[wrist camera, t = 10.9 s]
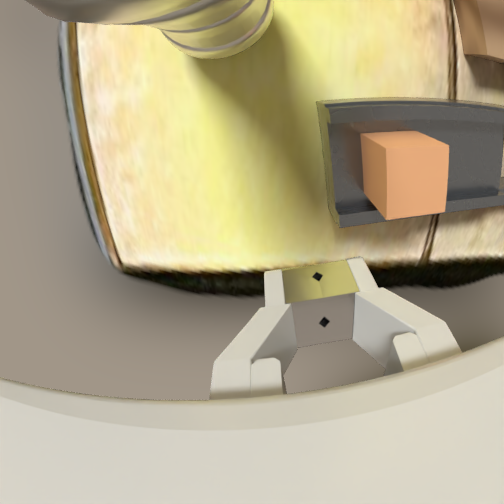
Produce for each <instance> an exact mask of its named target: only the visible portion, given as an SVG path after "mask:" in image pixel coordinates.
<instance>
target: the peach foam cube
mask: <svg viewBox="0 0 504 504" xmlns="http://www.w3.org/2000/svg"><path fill="white" fill-rule="evenodd" d="M360 137H361V149H362V164H363V185H364V194H365V195H366V196H367V197H368V199H369V200H370V201H371V202H372V203H373V204H374V206H375V207H376V208H377V209H378V211H379V212H380V213H381V214H382V215H383V217H384V218H385V219H386V220H391V219H398V218H405V217H413V216H420V215H427V214H434V213H442V212H445V206H446V196H447V183H448V166H449V145H447V144H445V143H443V142H441V141H438V140H436V139H434V138H432V137H429V136H427V135H425V134H422V133H420V132H418V131H392V132H375V133H361V134H360Z"/></svg>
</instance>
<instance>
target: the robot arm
mask: <svg viewBox="0 0 504 504" xmlns="http://www.w3.org/2000/svg"><path fill="white" fill-rule="evenodd" d="M264 281H265V307H263V308H260V309H259V310H258V311H257V313H256V314H255V315H254V316H253V317H252V318H251V320H250V321H249V322H248V323H247V324H246V326H245V327H244V328H243V329H242V330H241V331H240V333H239V334H238V335H237V336H236V338H235V339H234V340H233V341H232V342H231V343H230V344H229V345H228V347H227V348H226V349H225V350H224V351H223V352H222V353H221V355H220V356H219V357H218V358H217V359H216V360H215V362H214V366H213V374H212V382H211V390H210V399H209V400H150V399H133V398H119V397H108V396H99V395H90V394H82V393H75V392H68V391H62V390H56V389H50V388H45V387H40V386H35V385H30V384H25V383H21V382H17V381H13V380H9V379H5V378H2V377H0V504H504V336H503V337H500V338H498V339H496V340H494V341H491V342H488V343H486V344H484V345H481V346H479V347H476V348H473V349H471V350H468V351H465V352H463V353H462V352H461V350H460V348H459V346H458V344H457V342H456V340H455V339H454V337H453V335H452V333H451V331H450V330H449V328H448V326H447V324H446V323H445V321H443V320H441V319H439V318H437V317H436V316H434V315H432V314H430V313H429V312H427V311H425V310H423V309H421V308H420V307H418V306H416V305H414V304H412V303H410V302H409V301H407V300H405V299H403V298H401V297H400V296H397V295H396V294H394V293H392V292H390V291H388V290H387V289H385V288H378V286H377V284H376V282H375V280H374V278H373V276H372V275H371V273H370V271H369V269H368V267H367V265H366V263H365V261H364V259H363V257H361V256H359V257H354V258H349V259H345V260H340V261H335V262H329V263H323V264H317V265H308V266H301V267H293V268H286V269H282V270H281V269H278V270H272V271H265V274H264ZM347 339H353V341H354V342H356V343H357V344H358V345H359V346H360V347H361V348H362V349H363V350H364V351H366V352H367V353H368V354H369V355H370V356H371V357H372V358H373V359H375V360H376V361H377V362H378V363H379V364H380V365H381V366H382V367H384V368H385V373H384V377H379V378H375V379H371V380H366V381H362V382H357V383H352V384H347V385H342V386H337V387H331V388H326V389H319V390H313V391H306V392H299V393H291V394H287V392H286V387H285V382H284V377H283V375H284V373H285V372H286V370H287V368H288V366H289V364H290V362H291V361H292V358H293V357H294V355H295V353H296V351H297V348H300V347H305V346H311V345H316V344H322V343H328V342H334V341H341V340H347Z"/></svg>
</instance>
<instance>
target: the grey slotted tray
mask: <svg viewBox="0 0 504 504" xmlns="http://www.w3.org/2000/svg"><path fill="white" fill-rule="evenodd" d="M316 103H317V110H318V117H319V124H320V131H321V139H322V147H323V156H324V165H325V174H326V185H327V196H328V208H329V210H330V212H331V214H332V216H333V218H334V220H335V222H336V224H338V226H339V228H343V227H350V226H356V225H363V224H370V223H377V222H384V221H391V220H398V219H405V218H412V217H405V218H398V219H391V220H386V219H385V218H384V217H383V215H382V214H381V213H380V212H379V211H378V209H377V208H376V207H375V206H374V204H373V203H372V202H371V201H370V200H369V199H368V197H367V196H366V195H365V194H364V185H363V164H362V149H361V137H360V134H361V133H375V132H392V131H418V132H420V133H422V134H425V135H427V136H429V137H432V138H434V139H436V140H438V141H441V142H443V143H445V144H447V145H449V166H448V183H447V196H446V206H445V212H442V213H448V212H456V211H463V210H470V209H478V208H486V207H493V206H501V205H504V177H501V168H502V156H503V137H504V106H502V105H495V104H489V103H481V102H472V101H463V100H451V99H436V98H409V97H384V98H355V99H339V100H327V101H316ZM434 214H441V213H434ZM434 214H427V215H434ZM420 216H426V215H420ZM413 217H419V216H413Z"/></svg>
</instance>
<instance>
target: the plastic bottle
mask: <svg viewBox="0 0 504 504" xmlns="http://www.w3.org/2000/svg"><path fill="white" fill-rule="evenodd" d="M25 1H27V2H28V3H29V4H31V5H32V6H34V7H35V8H36V9H38V10H39V11H41V12H42V13H43V14H45V15H46V16H49V17H52V18H55V19H58V20H61V21H64V22H82V23H94V24H104V25H110V24H122V25H147V26H150V27H154V28H158V29H160V30H161V32H162V33H163V34H164V36H165V37H166V38H167V39H168V41H169V42H170V43H171V44H172V45H173V46H175V47H176V48H177V49H178V50H180V51H182V52H184V53H186V54H187V55H190V56H193V57H197V58H203V59H219V58H225V57H229V56H233V55H235V54H237V53H240V52H242V51H244V50H246V49H247V48H249V47H250V46H252V45H253V44H254V43H255V42H257V41H258V40H259V39H260V38H261V37H262V35H263V34H264V33H265V32H266V30H267V29H268V26H269V24H270V22H271V20H272V16H273V12H274V0H25Z"/></svg>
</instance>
